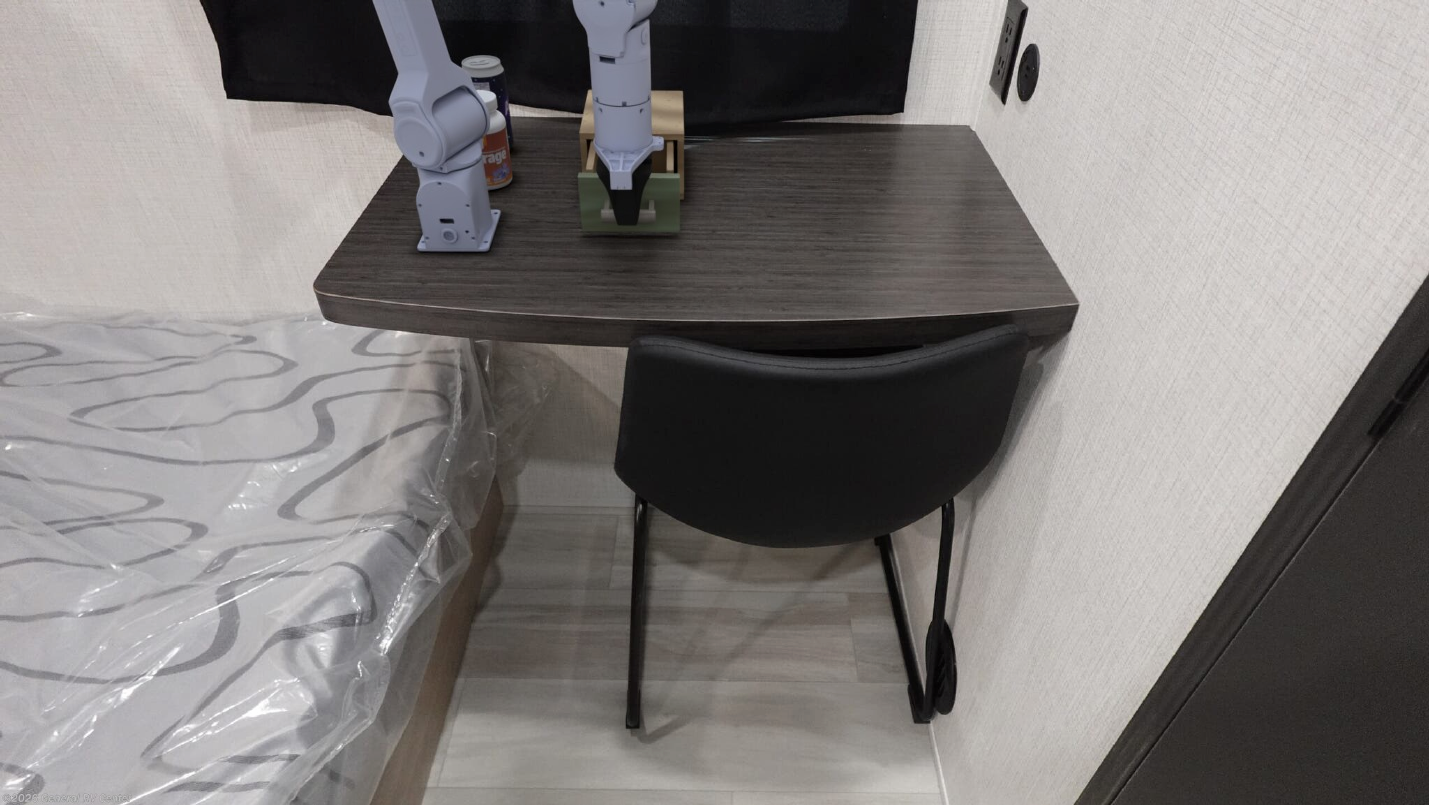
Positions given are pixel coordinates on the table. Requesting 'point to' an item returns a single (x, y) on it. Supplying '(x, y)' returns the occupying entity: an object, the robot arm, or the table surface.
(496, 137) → the pill bottle
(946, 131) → the table surface
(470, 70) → the beverage can
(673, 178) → the drawer
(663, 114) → the cabinet
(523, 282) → the table surface
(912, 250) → the table surface
